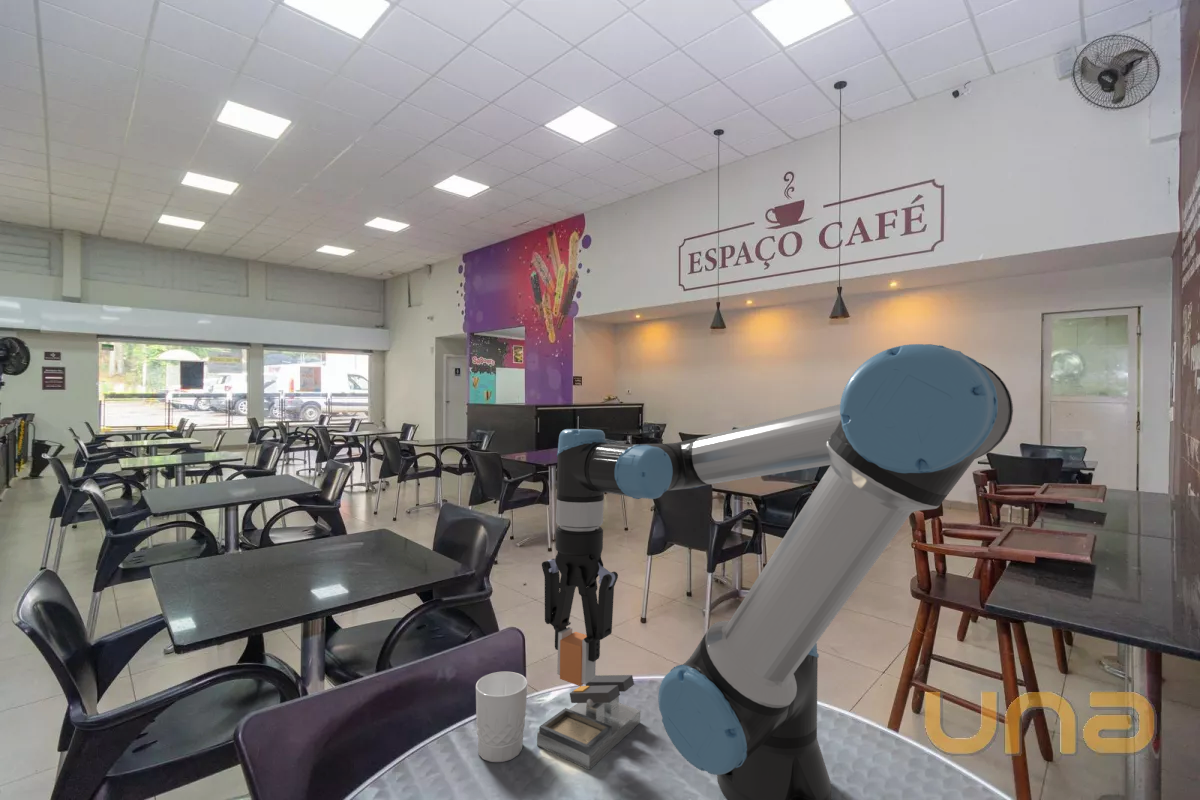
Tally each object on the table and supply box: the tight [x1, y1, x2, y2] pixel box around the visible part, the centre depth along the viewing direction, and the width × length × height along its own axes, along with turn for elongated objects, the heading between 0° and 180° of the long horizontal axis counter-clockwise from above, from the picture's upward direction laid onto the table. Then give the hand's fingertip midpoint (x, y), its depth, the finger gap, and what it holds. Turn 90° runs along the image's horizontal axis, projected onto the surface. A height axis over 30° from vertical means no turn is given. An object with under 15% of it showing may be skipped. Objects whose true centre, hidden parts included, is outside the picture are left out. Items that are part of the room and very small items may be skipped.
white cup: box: [475, 671, 528, 763], centre depth 82 cm, size 8×8×10 cm
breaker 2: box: [585, 674, 635, 693], centre depth 91 cm, size 8×3×2 cm, turn 57°
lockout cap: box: [559, 631, 587, 687], centre depth 84 cm, size 4×4×6 cm
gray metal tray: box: [536, 695, 641, 771], centre depth 87 cm, size 10×15×4 cm, turn 146°
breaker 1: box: [569, 685, 621, 707], centre depth 88 cm, size 8×3×2 cm, turn 57°
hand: (576, 675), depth 84 cm, fingers closed on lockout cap, 4 cm apart
